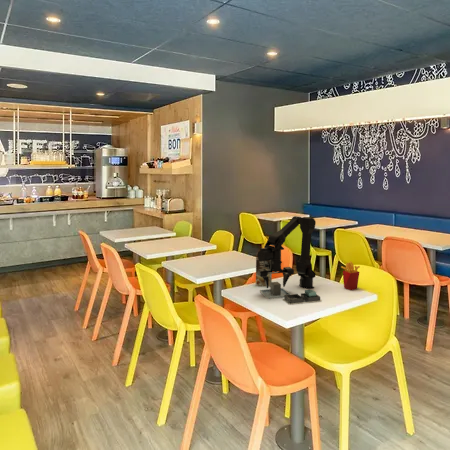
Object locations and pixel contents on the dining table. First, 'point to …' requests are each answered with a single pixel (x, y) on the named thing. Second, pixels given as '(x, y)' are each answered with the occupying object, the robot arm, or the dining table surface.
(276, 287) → the block
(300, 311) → the dining table surface
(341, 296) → the dining table surface
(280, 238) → the robot arm
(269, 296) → the tray
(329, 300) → the dining table surface
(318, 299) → the double socket holder
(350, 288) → the french fries
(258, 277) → the coffee box
